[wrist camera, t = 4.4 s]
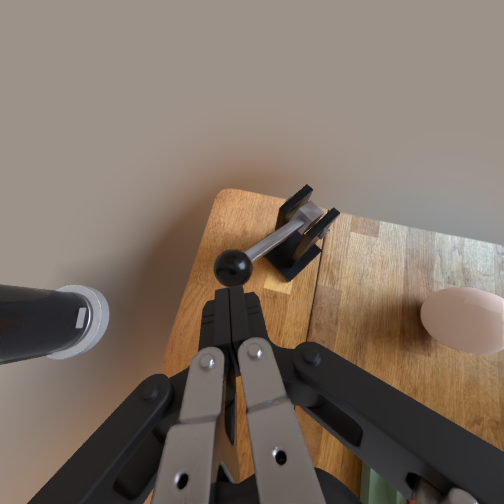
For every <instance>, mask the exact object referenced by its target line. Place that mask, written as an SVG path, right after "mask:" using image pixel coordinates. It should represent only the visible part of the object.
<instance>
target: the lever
mask: <svg viewBox="0 0 504 504" xmlns="http://www.w3.org/2000/svg"><path fill="white" fill-rule="evenodd" d="M323 214H324V212H323V211H322V210H321V209H319V208H318V207H317V206H316V205H315V204H314V203H313V202H311V201H309V202H308V203H306V204H304V205H303V206H301V207H300V208H298V209H297V211H296V212H295V214H294V215H293V216H292V218H291V219H290V221H289V223H287V224H286V225H284V226H283V227H281V228H279V229H278V230H276V231H275V232H273V233H272V234H270V235H269V236H267V237H266V238H264V239H263V240H261V241H260V242H258V243H257V244H255V245H254V246H252V247H251V248H249V249H248V250H246V251H244V252H243V251H241V250H238V249H229V250H226V251H224V252H222V253H221V254H220V255H219V256H218V257H217V259H216V260H215V263H214V274H215V277H216V279H217V280H218V281H219V282H220V283H221V284H222V285H224V286H226V287H232V286H237V285H244V284H245V283H246V282H247V281H248V280H249V279H250V277H251V275H252V270H253V266H252V264H253V263H254V262H256V261H257V260H258V259H260V258H261V257H262V256H264V255H265V254H266V253H268V252H269V251H271V250H272V249H273V248H275V247H276V246H277V245H279V244H280V243H281V242H283V241H284V240H286V239H287V238H288V237H290V236H291V235H292V234H294V233H295V232H296V231H298V232H299V233H300V234H301V235H302V234H304V233H305V232H306V231H307V230H309V229H310V228H311V227H313V226H314V225H315V223H316V222H317V221H318V220H319V219H320V218H321V216H322V215H323Z"/></svg>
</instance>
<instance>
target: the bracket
mask: <svg viewBox="0 0 504 504" xmlns="http://www.w3.org/2000/svg"><path fill="white" fill-rule="evenodd" d="M312 191H313V189H312V188H311V187H310V186H308V185H307V184H306V185H305V186H304V187H303V188H302V189H301V190H300V191H298V192H297V193H296V194H295V195H294V196H293V197H290V198H288V199H287V200H286V202H285V203H284V204H283V205H282V206H281V207H280V208H279V213H278V217H277V222H276V226H275V231H276V230H278V229H279V228H281V227H283V226H284V225H286V224H287V223H289V221H290V219H291V218H292V216H293V215H294V214H295V212H296V211H297V209H298V208H300V207H301V206H303V205H304V204H306V203H307V202H308V200H309V198H310V196H311V193H312ZM339 215H340V212H339V211H337V210H336V209H335V208H332V209H331V210H330V211H329V212H328V213H327V214H326V215H325V216H324V217H323V218H322V219H321V220H319V221H318V222H317V223H316V224H315V225H314V226H313V227H312V228H311V229H310V230H309V231H308V232H307V233H306V234H302V235H301V234H300V233H299V232H298V231H296V232H295V233H294V234H292V235H291V236H290V237H288V238H287V239H286V240H284V241H283V242H281V243H280V244H279V245H277V246H276V247H275V248H273V249H272V250H271V251H269V252H268V253H266V254H265V255H264V257H265V259H266V260H267V261H268V262H269V263H270V264H271V265H272V266H273V267H274V268H275V269H276V270H277V271H278V272H279V273H280V274H281V275H282V276H283V277H284V278H285V279H286V280H287V281H288V282H290V281H291V280H292V279H293V278H294V277H295V276H296V275H297V274H298V273H299V272H300V271H301V270H302V269H304V268H305V267H306V266H307V265H308V264H309V263H310V262H311V261H312V260H313V259H314V258H315V257H316V256H317V255H318V254H319V253H320V252H321V251H322V250H321V249H320V248H319V247H318V246H317V245H316V244H315V243H316V242H317V241H318V240H319V238H320V239H322V238H323V237H324V236H325V235H326V234H327V233H328V232H329V231H330V230H329V229H328V228H329V227H330V225H331V224H332V223H333V222H334V221H335V219H336V218H337V217H338V216H339ZM275 231H274V232H275Z"/></svg>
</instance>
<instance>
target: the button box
mask: <svg viewBox="0 0 504 504" xmlns="http://www.w3.org/2000/svg"><path fill="white" fill-rule="evenodd" d="M360 501H361V502H362V503H363V504H407V499H406V498H405V497H404V496H403V495H402V494H401V493H399V492H398V491H397V490H396V489H395V488H394V487H392V486H391V485H390V484H389V483H388V482H387V481H385V480H384V479H383V478H382V477H381V476H380V475H378V474H377V473H376V472H375V471H374V470H373V469H371V468H370V467H369V466H368V465H367V464H366V463H365V462H363V461H362V472H361V487H360Z"/></svg>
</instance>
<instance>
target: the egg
mask: <svg viewBox="0 0 504 504" xmlns="http://www.w3.org/2000/svg"><path fill="white" fill-rule="evenodd" d="M421 320H422V323H423V326H424V327H425V329H426V330H427V331H428V333H429V334H430V335H431V336H432V337H433V338H435V339H436V340H437V341H439V342H440V343H442V344H443V345H445V346H447V347H449V348H452V349H455V350H458V351H462V352H467V353H476V354H487V353H495V352H498V351H502V350H504V299H503V298H501V297H499V296H497V295H495V294H492V293H489V292H486V291H482V290H479V289H474V288H465V287H460V288H448V289H444V290H440V291H437V292H435V293H433V294H432V295H431V296H429V297H428V298H427V299H426V300H425V302H424V303H423V305H422V307H421Z"/></svg>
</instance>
